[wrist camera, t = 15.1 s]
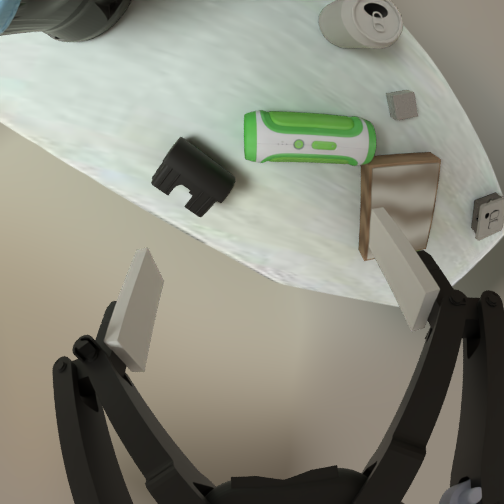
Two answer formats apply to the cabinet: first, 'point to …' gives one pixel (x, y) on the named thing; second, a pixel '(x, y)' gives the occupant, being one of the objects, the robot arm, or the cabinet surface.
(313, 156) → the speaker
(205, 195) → the end cap
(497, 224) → the electrical switch
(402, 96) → the grey square block
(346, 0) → the can
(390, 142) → the cabinet surface
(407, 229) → the stand
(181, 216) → the cabinet surface
